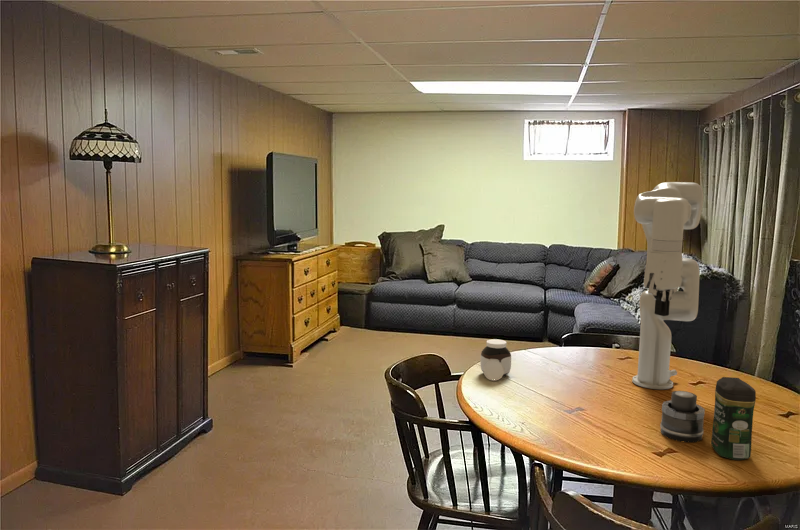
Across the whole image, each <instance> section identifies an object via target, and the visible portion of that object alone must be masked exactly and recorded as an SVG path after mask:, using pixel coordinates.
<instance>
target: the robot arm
mask: <svg viewBox="0 0 800 530" xmlns="http://www.w3.org/2000/svg"><path fill="white" fill-rule="evenodd" d="M703 205H704V190H703V188H702V186H701V185H700V184H699V183H697V182H687V181H684V182H683V181H681V182H680V181H666V182H661V183H659V184H657V185H656V186H654V188H653V189H652V190H651V191H649V190H648V191H644V192H642V193H639V194H638V195H637V196H636V199H635V203H634V207H633V216H634V220H635V221H636V223H638V224H639V225H640V224H641V226H642V230H643V233H644V236H645V238H646V243H647V244H646V245H647V250H646V265H645V268H644V277H643V279H644V280H643V286H644V288H646V289H648V290H645V291H643V292H642V293H641V295H640V296H639V303H638V304H639V314H640V332H639V347H638V348H639V349H638V363H637V374H636V375H634V376H632V380H631V381H632V383H634V384H635V385H636V386H639V387H642V388H645V389H650V390H669V389H672V388H673V387H674V382H673V380H671V377H673V376H677V375H678V371H677V370H676V369H671V370H670V361H671V348H672V347H671V346H672V331H671V329H670V327H669V326H668V325H667V324H666V322H665V321H676V322H677V321H679V322H692V321H694V320H695V319H696V318H697V317H698V313H699V297H700V295H699V294H700V266H699V264H698V262H697V261H696V260H695V259H693V258H686V257H683V254H682V252H683V240H684V239H683V238H684V230H694V229H696V228H697V227H698V226H699V224H700V222H701V221H700V220H701V216H702V215H701V214H702V211H703V210H702V209H703ZM679 288H681V289H682V290H683V291H681V290H679Z"/></svg>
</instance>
